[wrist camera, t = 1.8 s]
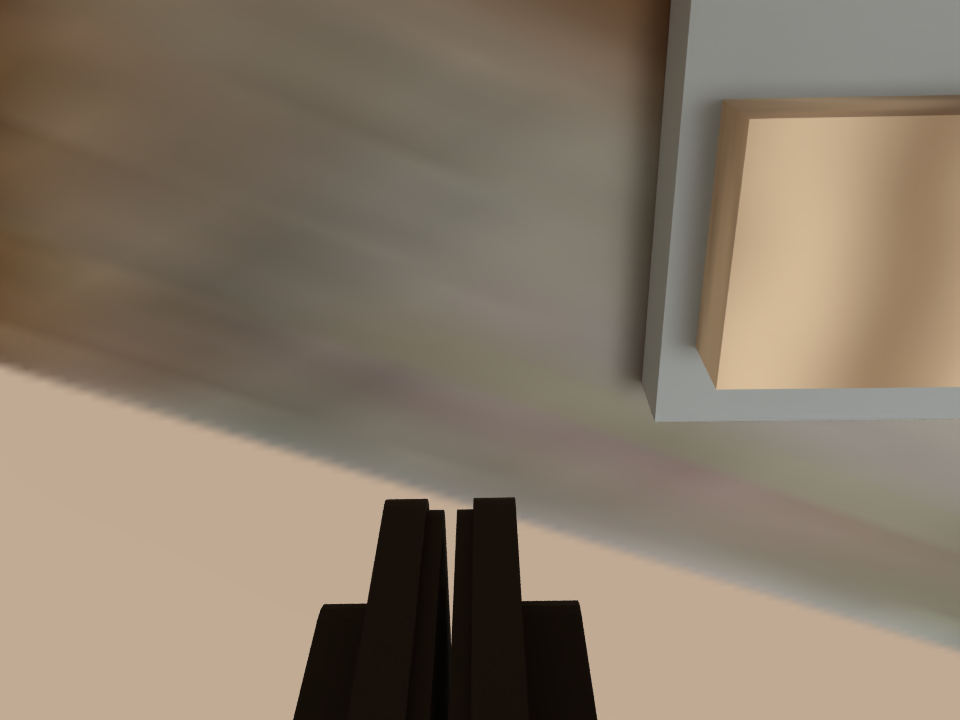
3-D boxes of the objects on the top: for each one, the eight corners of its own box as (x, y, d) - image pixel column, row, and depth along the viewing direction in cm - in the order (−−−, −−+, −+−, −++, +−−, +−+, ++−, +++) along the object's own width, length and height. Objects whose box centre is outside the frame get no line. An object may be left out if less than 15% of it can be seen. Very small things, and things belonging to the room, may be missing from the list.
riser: (1208, -26, 22) (1289, -21, 20) (1070, 377, 27) (1122, 416, 25) (672, -14, 22) (691, -8, 20) (641, 382, 28) (654, 421, 25)
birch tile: (1125, 91, 21) (1200, 110, 19) (1044, 343, 24) (1100, 385, 22) (722, 99, 21) (749, 118, 19) (695, 347, 24) (716, 389, 22)
